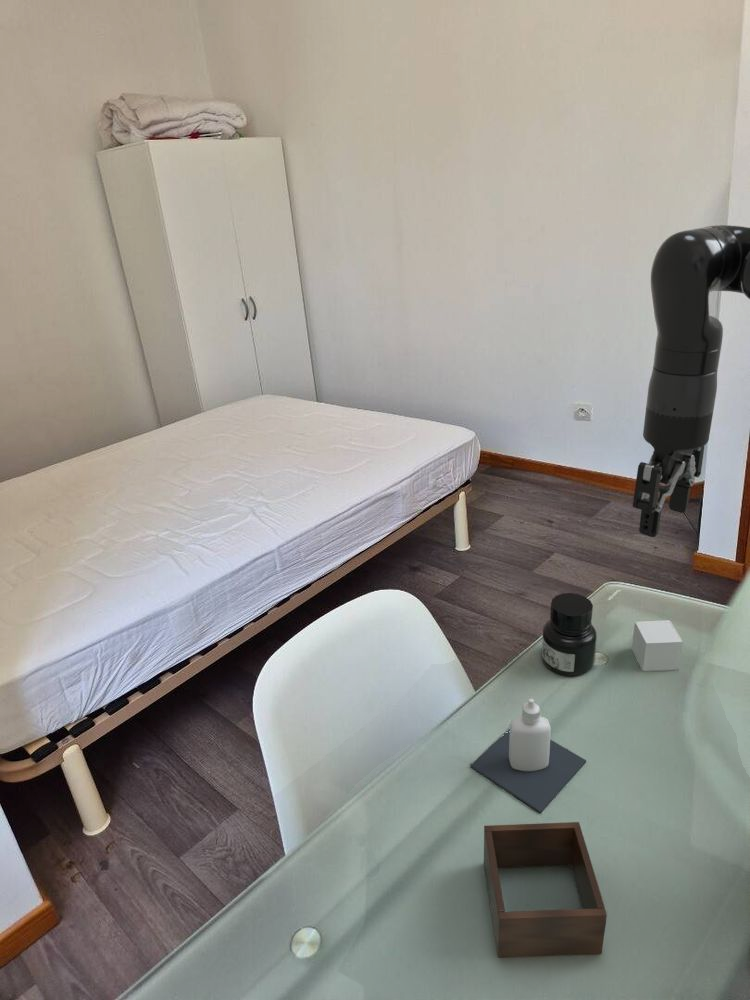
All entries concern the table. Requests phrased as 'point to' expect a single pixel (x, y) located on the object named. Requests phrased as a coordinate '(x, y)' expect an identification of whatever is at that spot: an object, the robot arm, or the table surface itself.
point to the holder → (544, 927)
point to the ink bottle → (569, 635)
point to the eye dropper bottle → (529, 739)
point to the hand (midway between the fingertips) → (663, 522)
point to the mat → (529, 773)
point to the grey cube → (656, 645)
